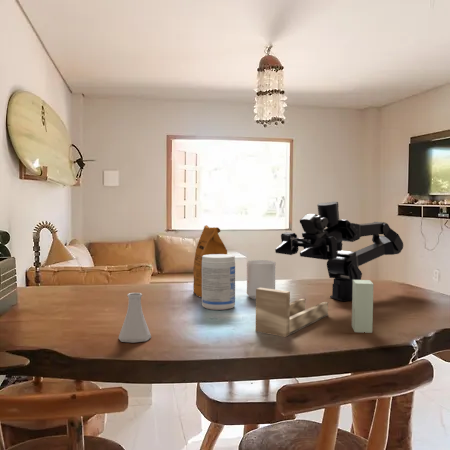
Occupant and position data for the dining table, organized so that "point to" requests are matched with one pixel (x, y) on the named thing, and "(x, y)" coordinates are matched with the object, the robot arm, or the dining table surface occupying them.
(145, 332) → the flask
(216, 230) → the coffee package
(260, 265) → the mug
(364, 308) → the pale green block
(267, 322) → the track
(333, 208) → the robot arm
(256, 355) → the dining table surface
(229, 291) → the supplement tub
